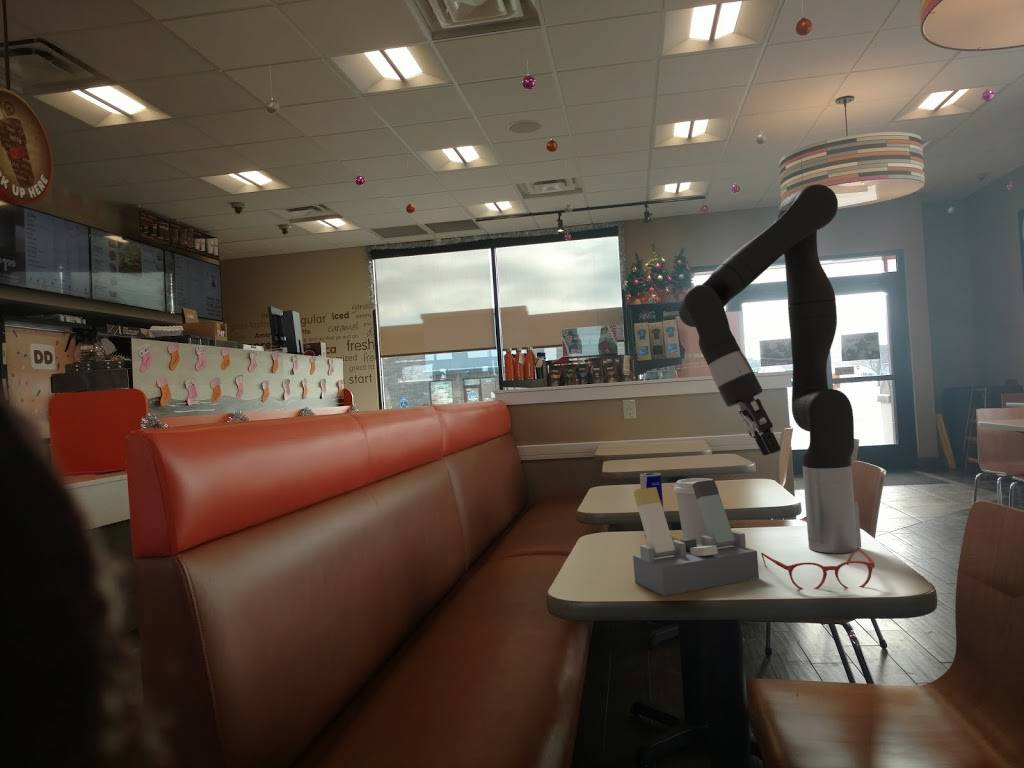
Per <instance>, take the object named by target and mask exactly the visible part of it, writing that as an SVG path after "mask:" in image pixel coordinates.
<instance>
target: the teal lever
mask: <svg viewBox="0 0 1024 768" xmlns="http://www.w3.org/2000/svg"><path fill="white" fill-rule="evenodd" d="M716 485H717V484H716V481H715V479H713V480H707V481H700V482H696V483H694V484H693V485H692V486H693V489H694V492H695V495H696V498H697V501H698V504H699V507H700V510H701V513H702V517H703V520H704V523H705V526H706V529H707V532H708V535H709V537H713V538H715V543H716V546H717V548H719V547H725V546H731V545H736V539H735V538H734V536H733V533H732V531H733V530H732V528H731V524H730V522H729V519H728V515H727V514H726V509H725V507H724V504H723V502H722V499H721V495H720V493H719V490H718V489H719V488H718V489H717V487H718V485H717V486H716Z"/></svg>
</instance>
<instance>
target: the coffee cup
mask: <svg viewBox="0 0 1024 768" xmlns="http://www.w3.org/2000/svg"><path fill="white" fill-rule="evenodd" d="M707 480H714V479H713V478H706V477H705V478H702V477H697V478H696V477H692V478H684V479H678V480H677V481H676V482H675V486H674V488H673V492H674V493H675V495H676V502H677V507H678V514H679V520H680V526H681V533H682V538H695V539H696V542H697V545H700V544H701V536H705V535H706V536H709V535H708V532H707V529H706V526H705V523H704V520H703V517H702V513H701V510H700V507H699V504H698V501H697V498H696V495H695V492H694V489H693V486H692V485H693V484H694V483H696V482H700V481H707ZM716 486H717V489H718V491H719V487H718V485H717V484H716Z"/></svg>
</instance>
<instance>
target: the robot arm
mask: <svg viewBox="0 0 1024 768" xmlns="http://www.w3.org/2000/svg"><path fill="white" fill-rule="evenodd" d="M838 202H839V201H838V196H837V195H836V193H835V192H834V190H832V188H830V187H829V186H827V185H825V184H817V183H815V184H812V185H811V184H810V185H807V186H805V187H802V188H800V189H799V190H797V191H796V192H793V193H792V194H790V195H789V196H787V197H786V198H784V200H782V203H781V204H780V205H779V207H778V212H777V220H776V221H775V222H773V223H772V224H771V225H770V226H768V227H767V228H766V229H764V230H763V231H761V233H759V234H758V235H756V236H755V237H753V238H752V239H750V240H749V241H748V242H746V243H745V244H743V246H741V247H740V248H739V249H737V250H736V251H734V252H733V253H732V254H731V255H730V256H729V257H728V258H726V259H725V260H724V261H723V262H722V263H720V265H718V266H717V268H716V269H715V270H714V271H713V272H712V273H711V274H710V276H709V277H708V279H706V281H704V282H703V283H702V284H698V285H697V284H696V285H693V287H691V288H690V289H688V291H687V292H686V293H685V295H684V297H683V299H682V300H681V301H680V304H679V308H678V315H679V318H680V320H681V321H682V323H683V324H684V325H686V326H688V327H691V328H695V330H696V332H697V334H698V346H699V350H700V352H701V354H702V356H703V358H704V361H705V362H706V363H707V366H708V369H709V371H710V375H711V377H712V380H713V381H714V384H715V385H716V388H717V389H718V393H720V396H721V397H722V400H723V402H724V404H725V406H727V407H730V408H731V407H733V406H734V407H735V406H736V405H737V406H739V410H738V414H739V415H740V418H741V420H742V421H743V423H744V426H745V428H746V430H747V432H748V435H749V436H750V437H751V438H753V440H754V441H755V443H756V445H757V446H758V449H759V451H760V453H761V454H762V456H764V457H765V456H767V455H770V454H775V453H777V452H780V451H781V450H782V449H781V446H780V444H779V442H778V440H777V438H776V436H775V434H774V432H773V431H774V429H773V427H774V425H773V423H772V422H771V421H772V420H770V418H769V416H768V414H767V411H766V410H765V407H764V406H763V404H762V402H761V399H759V398H756V399H755V398H754V397H756V396H758V395H760V394H762V393H763V388H762V386H761V383H760V382H759V379H758V378H757V375H756V374H755V373H754V371H753V369H752V366H751V364H750V362H749V361H748V358H747V357H746V356H745V355H744V353H743V351H742V349H741V348H740V345H739V344H738V342H737V339H736V338H735V336H734V334H733V332H732V330H731V327H730V323H729V319H728V316H727V314H726V310H725V306H726V305H727V304H728V303H729V302H730V301H731V300H732V299H733V298H735V297H736V296H738V295H739V294H740V293H742V292H743V291H744V290H745V289H747V287H749V286H750V285H751V284H752V283H753V282H754V281H755V280H756V279H758V277H760V276H761V275H762V274H763V273H764V272H765V271H766V270H768V268H769V267H771V266H772V265H773V264H774V263H775V262H777V260H778V259H780V257H782V256H784V265H785V277H786V279H785V280H786V288H787V289H786V291H787V311H788V312H787V313H788V324H789V330H790V331H789V332H790V333H789V334H790V348H791V361H792V388H791V413H792V416H793V420H794V422H795V423H796V425H797V427H799V428H800V429H802V430H803V431H806V432H809V445H808V448H807V449H806V450H805V451H804V452H803V453H802V454H801V455H802V456H801V461H802V474H803V475H802V476H803V477H802V478H803V490H804V500H805V501H804V502H805V517H806V526H807V527H806V528H807V530H806V531H807V538H808V548H809V550H812V551H815V552H820V553H827V554H845V553H852V552H853V551H854V550H857V549H861V548H862V536H861V524H860V512H859V511H860V509H859V503H858V501H857V500H855V498H854V497H855V495H854V484H853V483H854V482H853V473H852V472H853V471H852V457H853V456H852V455H853V454H854V449H855V426H854V424H855V422H854V412H853V407H852V403H851V401H850V399H849V397H848V396H847V395H846V394H845V393H843V392H842V391H840V390H839V389H835V388H829V384H828V372H827V370H828V369H827V368H828V367H827V366H828V360H829V359H828V358H829V354H830V352H831V348H832V346H833V342H834V339H835V335H836V331H837V325H838V316H837V303H836V301H837V300H836V299H837V298H836V295H835V290H834V287H833V285H832V283H831V281H830V279H829V277H828V275H827V274H826V272H825V270H824V269H823V266H822V264H821V261H820V258H819V254H818V253H819V252H818V239H817V238H818V237H817V236H818V234H817V233H818V231H819V230H821V229H823V228H824V227H826V226H827V225H829V224H830V223H831V222H832V221H833V220H834V218H835V217H836V214H837V212H838V206H839V203H838Z"/></svg>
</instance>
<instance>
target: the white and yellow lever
mask: <svg viewBox="0 0 1024 768" xmlns="http://www.w3.org/2000/svg"><path fill="white" fill-rule="evenodd" d="M632 493H633V496H634V499H635V503H636V506H637V509H638V512H639V513H638V514H639V516H640V520H641V523H642V524H641V525H642V528H643V532H644V531H645V532H644V534H645V538H646V542H647V544H648V545H647V546H649V547H652V548H654V558H659V557H665V556H671V555H676V554H677V550H676V548H675V547H674V544H673V538H672V535H671V532H670V527H669V526H668V522H667V518H666V516H665V510H664V507H663V508H662V505H661V502H660V498H659V495H658V492H657V488H656V487H652V488H644V489H641V488H638V489H635V491H633V492H632ZM663 510H664V511H663Z"/></svg>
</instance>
